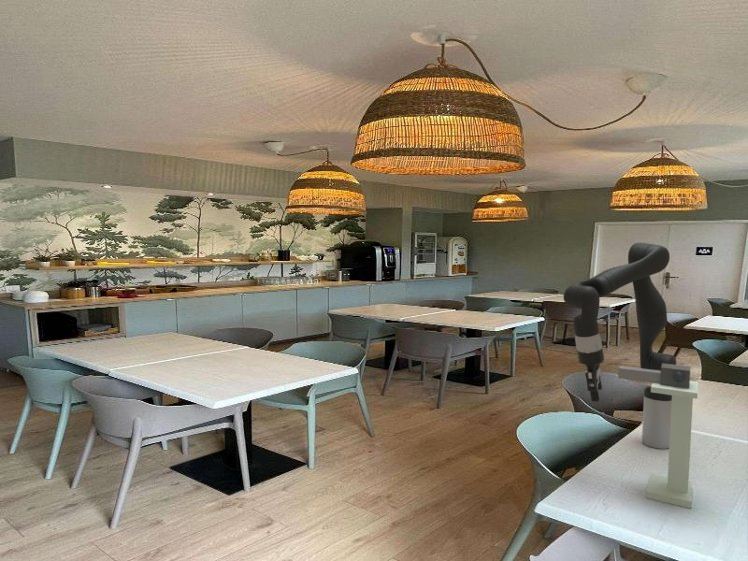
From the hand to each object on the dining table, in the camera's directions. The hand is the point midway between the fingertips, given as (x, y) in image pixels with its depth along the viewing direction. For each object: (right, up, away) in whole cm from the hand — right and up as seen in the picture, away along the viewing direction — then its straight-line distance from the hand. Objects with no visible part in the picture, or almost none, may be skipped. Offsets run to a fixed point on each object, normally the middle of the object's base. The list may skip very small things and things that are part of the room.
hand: (597, 395), depth 164 cm
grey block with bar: (+10, +7, -15) cm, 19 cm away
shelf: (+14, -25, -15) cm, 33 cm away
